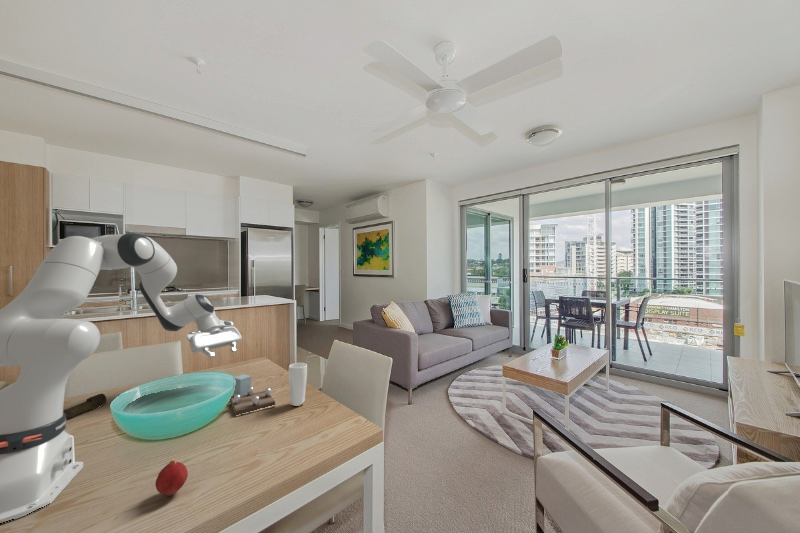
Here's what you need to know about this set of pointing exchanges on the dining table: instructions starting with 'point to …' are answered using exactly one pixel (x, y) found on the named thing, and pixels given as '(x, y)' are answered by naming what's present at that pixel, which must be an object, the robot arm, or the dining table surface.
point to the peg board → (252, 401)
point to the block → (242, 384)
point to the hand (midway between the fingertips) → (223, 354)
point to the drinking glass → (297, 382)
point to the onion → (171, 478)
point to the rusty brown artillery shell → (86, 405)
